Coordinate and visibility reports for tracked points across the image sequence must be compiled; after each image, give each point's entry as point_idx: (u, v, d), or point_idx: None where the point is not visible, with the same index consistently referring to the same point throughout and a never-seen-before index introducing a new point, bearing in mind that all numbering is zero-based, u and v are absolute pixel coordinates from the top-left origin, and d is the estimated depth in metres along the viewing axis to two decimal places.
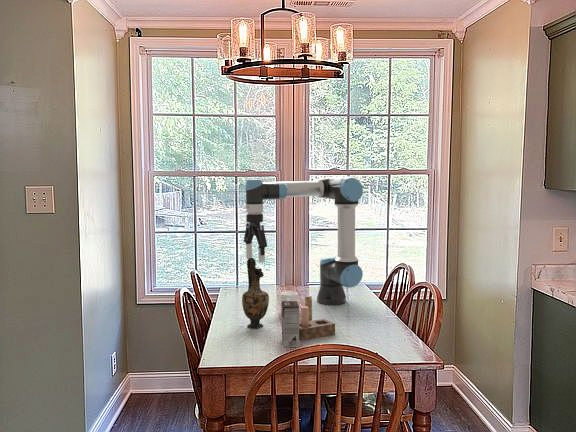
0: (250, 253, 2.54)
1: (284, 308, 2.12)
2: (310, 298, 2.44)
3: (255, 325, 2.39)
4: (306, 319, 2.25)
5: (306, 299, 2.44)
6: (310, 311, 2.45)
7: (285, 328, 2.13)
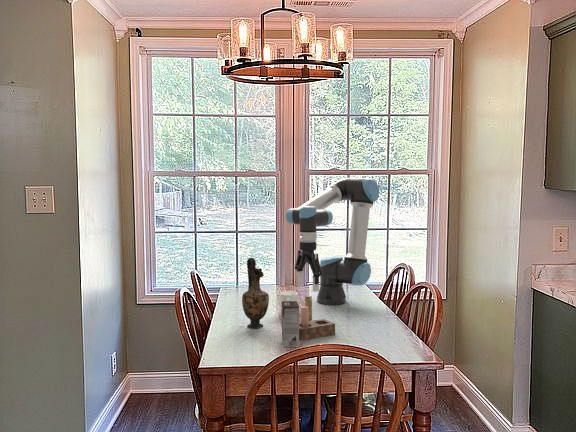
0: (301, 281, 2.51)
1: (284, 308, 2.12)
2: (310, 298, 2.44)
3: (255, 325, 2.39)
4: (306, 319, 2.25)
5: (306, 299, 2.44)
6: (310, 311, 2.45)
7: (285, 328, 2.13)
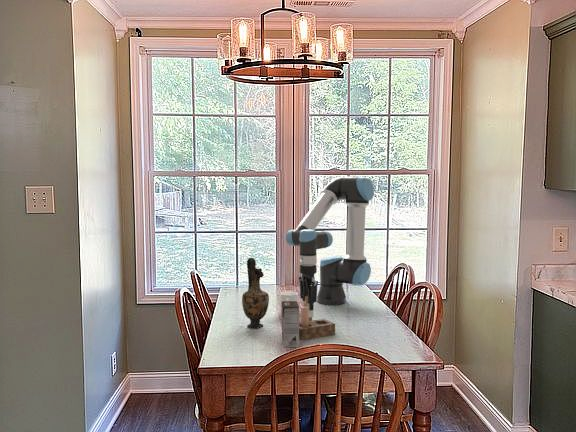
0: None
1: (284, 308, 2.12)
2: None
3: (255, 325, 2.39)
4: (306, 319, 2.25)
5: (306, 299, 2.44)
6: None
7: (285, 328, 2.13)
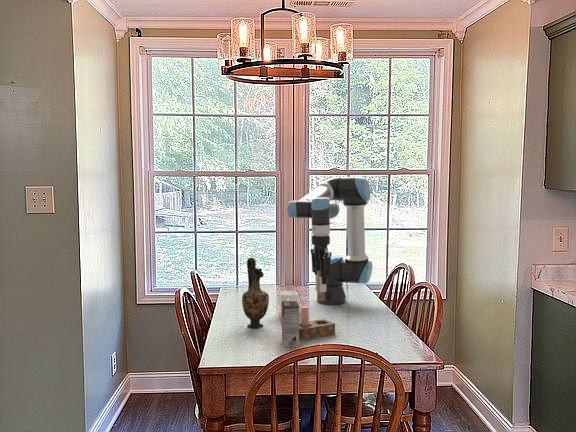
0: None
1: (284, 308, 2.12)
2: None
3: (255, 325, 2.39)
4: (306, 319, 2.25)
5: (318, 274, 2.28)
6: None
7: (285, 328, 2.13)
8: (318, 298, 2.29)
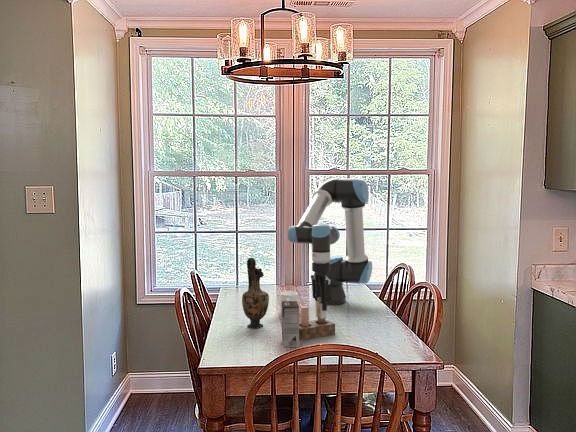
0: None
1: (284, 308, 2.12)
2: None
3: (255, 325, 2.39)
4: (306, 319, 2.25)
5: (319, 300, 2.28)
6: None
7: (285, 328, 2.13)
8: None
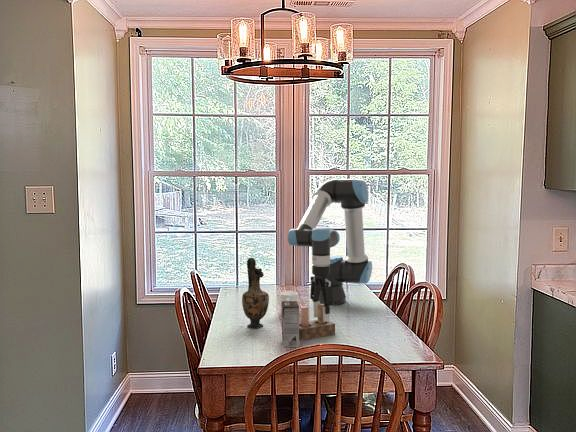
0: None
1: (284, 308, 2.12)
2: None
3: (255, 325, 2.39)
4: (306, 319, 2.25)
5: (319, 308, 2.29)
6: None
7: (285, 328, 2.13)
8: None
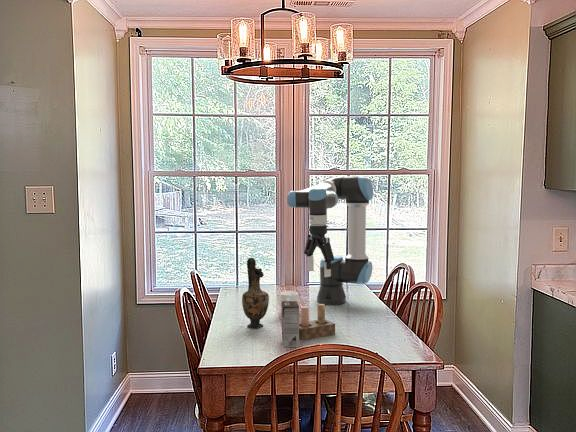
0: (311, 266, 2.41)
1: (284, 308, 2.12)
2: (323, 307, 2.29)
3: (255, 325, 2.39)
4: (306, 319, 2.25)
5: (319, 308, 2.29)
6: (323, 321, 2.29)
7: (285, 328, 2.13)
8: None
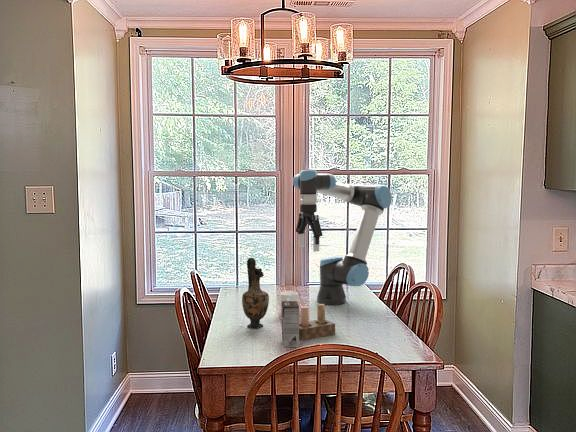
0: (302, 243, 2.59)
1: (284, 308, 2.12)
2: (323, 307, 2.29)
3: (255, 325, 2.39)
4: (306, 319, 2.25)
5: (319, 308, 2.29)
6: (323, 321, 2.29)
7: (285, 328, 2.13)
8: None
